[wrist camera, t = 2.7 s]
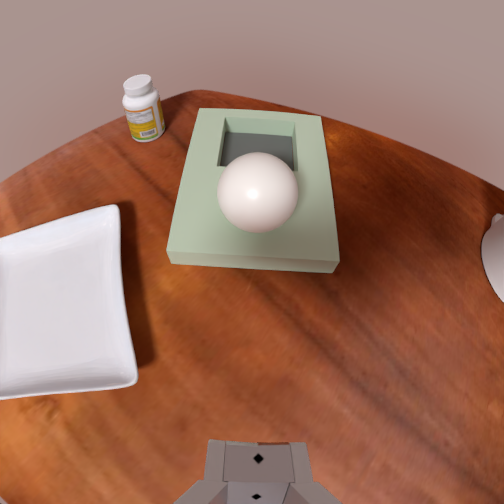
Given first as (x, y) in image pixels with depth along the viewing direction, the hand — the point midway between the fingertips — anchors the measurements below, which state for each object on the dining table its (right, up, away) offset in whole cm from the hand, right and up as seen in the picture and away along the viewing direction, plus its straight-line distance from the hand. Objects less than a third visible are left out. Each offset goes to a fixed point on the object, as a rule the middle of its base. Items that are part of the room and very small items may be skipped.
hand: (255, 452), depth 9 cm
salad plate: (-23, -1, +23) cm, 33 cm away
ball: (0, +12, +23) cm, 26 cm away
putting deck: (0, +15, +32) cm, 36 cm away
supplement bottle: (-16, +25, +37) cm, 47 cm away
